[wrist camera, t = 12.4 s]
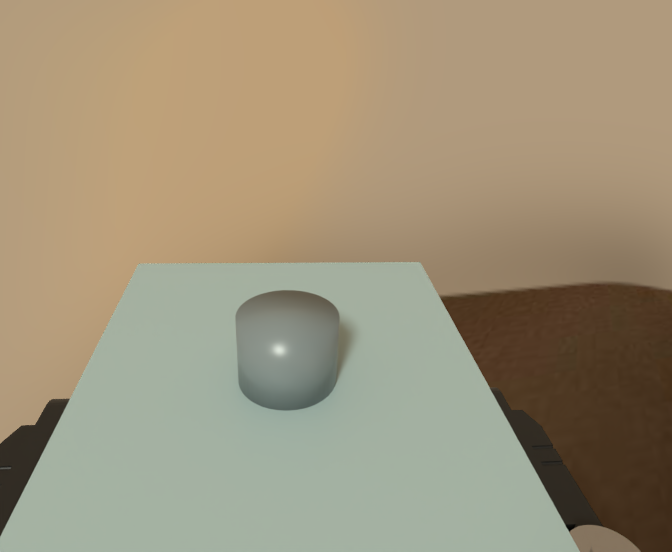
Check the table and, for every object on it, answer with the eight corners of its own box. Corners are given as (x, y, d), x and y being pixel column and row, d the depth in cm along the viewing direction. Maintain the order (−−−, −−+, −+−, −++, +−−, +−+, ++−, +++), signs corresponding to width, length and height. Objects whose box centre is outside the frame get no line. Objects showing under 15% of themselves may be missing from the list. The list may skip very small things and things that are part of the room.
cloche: (384, 535, 18) (425, 215, 12) (468, 946, 10) (665, 559, 5) (178, 549, 17) (132, 214, 12) (100, 1002, 9) (-131, 615, 4)
